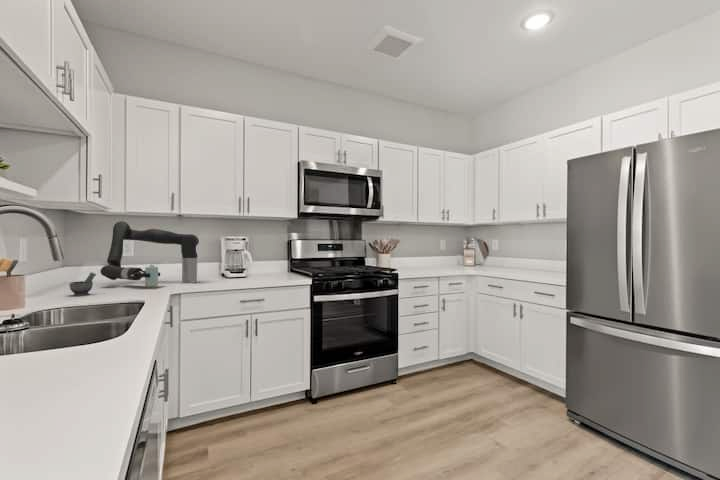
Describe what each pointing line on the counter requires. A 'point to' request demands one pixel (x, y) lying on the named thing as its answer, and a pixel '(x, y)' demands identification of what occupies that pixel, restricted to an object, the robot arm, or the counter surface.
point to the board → (153, 288)
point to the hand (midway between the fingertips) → (154, 275)
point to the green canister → (151, 276)
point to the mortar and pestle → (82, 286)
